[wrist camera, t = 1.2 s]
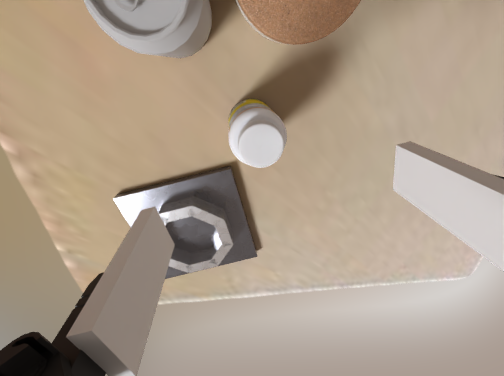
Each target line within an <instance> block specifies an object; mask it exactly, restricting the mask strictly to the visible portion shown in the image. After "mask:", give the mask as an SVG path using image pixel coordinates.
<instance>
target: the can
mask: <svg viewBox="0 0 504 376" xmlns="http://www.w3.org/2000/svg"><path fill="white" fill-rule="evenodd" d="M84 2H85V5H86V7H87V9H88V11H89V13H90V14H91V15H92V17H93V18H94V19H95V21H96V22H97V23H98V25H99V26H100V27H101V29H102V30H103V31H104V32H105V33H107V34H108V35H109V36H110V37H111V38H113V39H114V40H115V41H116V42H117V43H119V44H120V45H122V46H124V47H126V48H128V49H131V50H133V51H135V52H137V53H142V54H150V55H158V56H166V57H174V58H184V57H188V56H192V55H193V54H195V53H196V52H197V51H199V50H200V49H201V48H202V47H203V45H204V44H205V42H206V41H207V40H208V37H209V33H210V30H211V27H212V11H211V7H210V2H209V0H84Z"/></svg>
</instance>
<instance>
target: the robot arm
mask: <svg viewBox="0 0 504 376" xmlns="http://www.w3.org/2000/svg"><path fill="white" fill-rule="evenodd" d="M393 190H394V191H395V192H397V193H398V194H399V195H401V196H402V197H403V198H405V199H406V200H407V201H409V202H410V203H411V204H413V205H414V206H416V207H417V208H418V209H420V210H421V211H422V212H424V213H425V214H426V215H428V216H429V217H430V218H432V219H433V220H434V221H436V222H437V223H438V224H440V225H441V226H443V227H444V228H445V229H447V230H448V231H449V232H451V233H452V234H453V235H455V236H456V237H457V238H459V239H460V240H461V241H463V242H464V243H466V244H467V245H468V246H470V247H471V248H472V249H474V250H475V251H476V252H478V253H479V254H480V255H482V256H483V257H484V258H486V259H487V260H488V261H490V262H491V263H493V264H494V265H495V266H497V267H498V268H499V269H501V270H502V271H504V177H501V176H496V175H492V174H489V173H487V172H485V171H482V170H480V169H477V168H475V167H472V166H470V165H467V164H465V163H462V162H460V161H457V160H455V159H453V158H450V157H448V156H445V155H443V154H440V153H438V152H435V151H433V150H430V149H428V148H425V147H423V146H421V145H418V144H416V143H413V142H411V141H410V142H406V143H402V144H398V145H396V153H395V168H394V183H393ZM174 245H175V244H174V242H173V240H172V238H171V236H170V235H169V233H168V231H167V229H166V227H165V225H164V223H163V221H162V219H161V217H160V215H159V213H158V211H157V209H156V208H155V207H151V208H147V209H143V210H141V211H140V213H139V215H138V216H137V218H136V220H135V221H134V223H133V225H132V226H131V228H130V230H129V231H128V233H127V235H126V237H125V238H124V240H123V242H122V243H121V245H120V247H119V248H118V250H117V252H116V253H115V255H114V257H113V258H112V260H111V262H110V263H109V265H108V267H107V269H106V270H105V272H104V273H100V274H99V275H98V276H97V277H96V278H95V279H94V280H93V281H92V282H91V283H90V284H89V285H88V287H87V288H86V290H85V292H84V293H83V295H82V296H81V297H82V298H81V299H79V301H78V303H77V304H76V306H75V309H73V311H72V312H71V314H70V315H69V317H68V318H67V320H66V322H65V323H64V325H63V326H62V328H61V330H60V331H59V333H58V334H57V336H56V337H55V339H54V341H53V342H52V343H50V342H49V341H48V340H47V339H46V338H45V337H43V336H42V335H41V334H40V333H39V332H30V333H28V334H24V335H22V336H20V337H19V338H17V339H15V340H14V341H12V342H11V343H10V344H8V345H7V346H6V347H4V348H3V349H2V350H1V351H0V376H105V374H107V375H108V376H137V372H138V369H139V365H140V362H141V359H142V355H143V352H144V349H145V345H146V341H147V338H148V335H149V331H150V328H151V325H152V321H153V317H154V314H155V311H156V307H157V304H158V300H159V297H160V294H161V290H162V287H163V283H164V280H165V276H166V273H167V270H168V266H169V263H170V259H171V256H172V252H173V249H174Z"/></svg>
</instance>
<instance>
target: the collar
mask: <svg viewBox="0 0 504 376" xmlns="http://www.w3.org/2000/svg"><path fill="white" fill-rule="evenodd" d="M114 201H115V203H116V204H117V206H118V207H119V209H120V211H121V212H122V214H123V216H124V217H125V219H126V220H127V222H128V224H129V225H130V227H131V226H132V225H133V223H134V221H135V220H136V218H137V216H138V215H139V213H140V211H141V210H143V209H147V208H151V207H155V208H156V209H157V211H158V213H159V215H160V217H161V219H162V221H163V223H164V225H165V227H166V229H167V231H168V233H169V235H170V236H171V238H172V240H173V242H174V244H175V245H174V249H173V252H172V256H171V259H170V263H169V266H168V270H167V273H166V276H165V279H167V278H171V277H175V276H179V275H183V274H187V273H192V272H196V271H200V270H204V269H208V268H212V267H216V266H220V265H225V264H229V263H233V262H237V261H241V260H245V259H249V258H253V257H257V252H256V248H255V245H254V242H253V238H252V235H251V232H250V228H249V225H248V222H247V218H246V215H245V212H244V209H243V205H242V202H241V199H240V195H239V192H238V189H237V185H236V182H235V179H234V176H233V172H232V169H231V166H227V167H223V168H219V169H215V170H211V171H207V172H203V173H199V174H195V175H192V176H188V177H184V178H180V179H176V180H172V181H168V182H164V183H160V184H156V185H152V186H148V187H144V188H141V189H137V190H133V191H129V192H125V193H121V194H117V195H116V196H115V197H114Z"/></svg>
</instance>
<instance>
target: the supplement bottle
mask: <svg viewBox="0 0 504 376" xmlns="http://www.w3.org/2000/svg"><path fill="white" fill-rule="evenodd" d="M228 130H229V144H230V148H231V150H232V152H233V154H234V155H235V156H236V157H237V158H238V159H239V160H240V161H241V162H243V163H245V164H247V165H251V166H253V167H257V168H263V167H267V166H270V165H272V164H274V163H275V162H276V161H277V160H278V159H279V158H280V156H281V155H282V152H283V150H284V147H285V144H286V140H287V133H286V128H285V125H284V123H283V121H282V120H281V119H280V117H279V116H278V115H277V114H276V113H275V112H274V111H273V110H272V109H270V108H269V107H268V106H267V105H266V104H265V103H264V102H262V101H260V100H257V99H245V100H243V101H241V102H239V103H237V104H236V105H235V106H234V107H233V109H232V110H231V112H230V115H229V120H228Z"/></svg>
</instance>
